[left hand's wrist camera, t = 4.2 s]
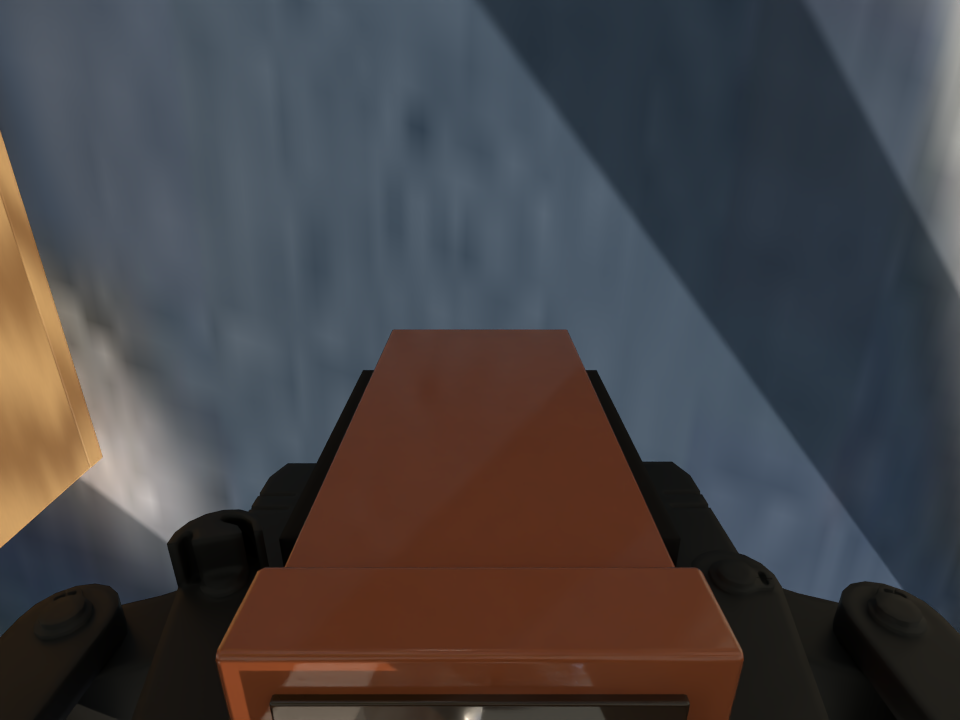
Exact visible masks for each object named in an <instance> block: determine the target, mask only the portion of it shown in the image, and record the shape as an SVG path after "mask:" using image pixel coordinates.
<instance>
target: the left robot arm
mask: <svg viewBox="0 0 960 720" xmlns="http://www.w3.org/2000/svg"><path fill="white" fill-rule="evenodd" d="M373 372H374V370H363V372H362V374H361V376H360V378H359V380H358V382H357V384H356V386H355V388H354V390H353V392H352V394H351V396H350V397H349V399H348V401H347V403H346V405H345V407H344V409H343V411H342V413H341V415H340V417H339V419H338V421H337V423H336V425H335V427H334V429H333V431H332V433H331V435H330V437H329V439H328V441H327V443H326V445H325V447H324V449H323V451H322V453H321V455H320V457H319V459H318V461H317V463H288V464H286V465H285V466H284V467H282V468H281V469H280V470H279V471H277V472H276V473H275V474H273V475H272V476H271V477H270V478H269V479H268V481H267V482H266V484H265V486H264V487H263V489H262V491H261V492H260V496H258V497H257V499H256V500H255V502H254V503H253V505H252V509H251V510H249V512H247V511H244V510H221V511H217V512H213V513H209V514H205V515H203V516H201V517H199V518H196V519H194V520H192V521H190V522H188V523H187V524H185V525H184V526H183V527H181V528H180V529H179V530H177V531H176V532H175V533H174V535H173V536H172V537H171V539H170V540H169V542H168V543H167V546H168V550H169V554H170V558H171V562H172V565H173V569H174V573H175V577H176V580H177V584H178V590H177V591H174V592H171V593H168V594H165V595H162V596H157V597H153V598H149V599H145V600H140V601H136V602H132V603H128V604H123V605H121V602H120V599H119V596H118V593H117V592H116V591H114V590H113V589H112V588H111V587H110V586H106V585H100V584H89V585H81V586H75V587H72V588H69V589H67V590H64V591H61V592H58V593H55V594H53V595H52V596H50V597H48V598H46V599H44V600H43V601H41V602H39V603H37V604H35V605H34V606H33V607H32V608H31V609H29V610H28V611H27V612H26V613H25V614H23V615H22V616H21V617H20V618H19V619H18V620H17V621H16V622H15V623H14V624H13V625H12V626H11V627H10V628H9V629H8V630H7V631H6V632H5V633H4V634H3V635H2V636H1V637H0V720H230V718H229V714H228V710H227V706H226V702H225V698H224V694H223V690H222V685H221V681H220V677H219V673H218V669H217V665H216V661H215V660H216V652H217V649H218V647H219V645H220V644H221V642H222V640H223V638H224V636H225V634H226V632H227V630H228V628H229V626H230V624H231V622H232V620H233V618H234V616H235V614H236V612H237V610H238V608H239V606H240V605H241V603H242V601H243V599H244V597H245V595H246V593H247V591H248V589H249V587H250V585H251V583H252V581H253V579H254V577H255V575H256V573H257V571H259V570H260V569H261V568H265V567H285V565H286V563H287V561H288V558H289V556H290V554H291V552H292V550H293V547H294V545H295V543H296V541H297V539H298V536H299V534H300V532H301V530H302V528H303V525H304V523H305V521H306V519H307V517H308V514H309V512H310V510H311V508H312V506H313V503H314V501H315V499H316V497H317V495H318V492H319V490H320V488H321V486H322V484H323V481H324V479H325V477H326V475H327V473H328V470H329V468H330V466H331V464H332V462H333V459H334V457H335V455H336V453H337V451H338V448H339V446H340V444H341V442H342V440H343V437H344V435H345V433H346V431H347V429H348V426H349V424H350V422H351V420H352V418H353V416H354V413H355V411H356V409H357V407H358V405H359V402H360V400H361V398H362V396H363V394H364V391H365V389H366V387H367V385H368V383H369V380H370V378H371V376H372V374H373ZM586 372H587V375H588V377H589V379H590V381H591V383H592V386H593V388H594V390H595V392H596V394H597V397H598V399H599V401H600V403H601V405H602V408H603V410H604V412H605V414H606V416H607V419H608V421H609V423H610V425H611V427H612V430H613V432H614V434H615V436H616V438H617V441H618V443H619V445H620V447H621V449H622V452H623V454H624V456H625V458H626V460H627V463H628V465H629V467H630V469H631V471H632V474H633V476H634V478H635V480H636V482H637V485H638V487H639V489H640V491H641V493H642V496H643V498H644V500H645V502H646V504H647V507H648V509H649V511H650V513H651V515H652V518H653V520H654V522H655V524H656V527H657V529H658V531H659V533H660V535H661V538H662V540H663V542H664V544H665V546H666V549H667V551H668V553H669V555H670V557H671V560H672V562H673V564H674V566H675V567H695V568H698V569H700V570H701V571H702V573H703V574H704V576H705V578H706V580H707V582H708V584H709V586H710V588H711V590H712V592H713V594H714V596H715V598H716V600H717V602H718V604H719V606H720V608H721V610H722V612H723V614H724V616H725V617H726V619H727V621H728V623H729V625H730V627H731V629H732V631H733V633H734V635H735V637H736V639H737V641H738V643H739V645H740V647H741V649H742V651H743V654H744V662H743V666H742V671H741V675H740V679H739V683H738V687H737V691H736V695H735V699H734V703H733V707H732V711H731V715H730V719H729V720H960V634H959V633H958V632H957V631H956V630H955V629H954V628H953V627H952V626H951V625H950V624H949V623H948V622H947V621H946V620H945V619H944V618H943V617H942V616H941V615H940V614H939V613H938V612H936V611H935V610H934V609H933V608H932V607H930V606H929V605H928V604H927V603H925V602H924V601H922V600H920V599H919V598H917V597H915V596H913V595H911V594H909V593H908V592H906V591H904V590H901V589H898V588H895V587H892V586H889V585H886V584H882V583H874V582H866V581H864V582H859V583H853V584H850V585H849V586H848V587H847V588H846V589H844V590H843V591H842V594H841V598H840V601H839V603H838V602H833V601H829V600H825V599H820V598H816V597H812V596H808V595H803V594H799V593H796V592H793V591H789V590H786V589H783V588H782V586H781V585H780V583H779V582H778V580H777V578H776V577H775V575H774V574H773V573H772V572H771V571H769V570H768V569H767V568H766V567H765V566H763V565H762V564H761V563H759V562H757V561H755V560H753V559H751V558H749V557H747V556H746V555H742V554H739V553H738V552H737V550H736V548H735V547H734V545H733V544H732V542H731V540H730V539H729V537H728V536H727V534H726V532H725V531H724V529H723V527H722V526H721V524H720V523H719V521H718V519H717V518H716V516H715V515H714V513H713V511H712V510H711V508H708V503H707V502H706V500H705V499H704V497H703V495H702V494H700V490H699V489H698V487H697V486H696V484H695V482H694V481H693V479H692V478H691V476H690V475H689V474H688V473H686V472H685V471H684V470H682V469H681V468H680V467H678V466H677V465H676V464H674V463H673V462H642V460H641V458H640V456H639V454H638V452H637V450H636V448H635V446H634V444H633V442H632V440H631V438H630V436H629V434H628V432H627V430H626V428H625V426H624V424H623V422H622V420H621V418H620V416H619V414H618V412H617V410H616V408H615V406H614V404H613V402H612V400H611V398H610V396H609V394H608V392H607V390H606V388H605V386H604V384H603V382H602V380H601V378H600V376H599V374H598V372H597V370H586Z"/></svg>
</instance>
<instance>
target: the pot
mask: <svg viewBox="0 0 960 720" xmlns="http://www.w3.org/2000/svg"><path fill="white" fill-rule="evenodd" d="M215 661H216V665H217V669H218V673H219V677H220V681H221V685H222V690H223V694H224V698H225V702H226V706H227V710H228V714H229V718H230V720H729V719H730V715H731V711H732V707H733V703H734V699H735V695H736V691H737V687H738V683H739V679H740V675H741V671H742V666H743V662H744V654H743V651H742V649H741V647H740V645H739V643H738V641H737V639H736V637H735V635H734V633H733V631H732V629H731V627H730V625H729V623H728V621H727V619H726V617H725V616H724V614H723V612H722V610H721V608H720V606H719V604H718V602H717V600H716V598H715V596H714V594H713V592H712V590H711V588H710V586H709V584H708V582H707V580H706V578H705V576H704V574H703V573H702V571H701V570H700V569H698V568H695V567H675V566H674V564H673V562H672V560H671V557H670V555H669V553H668V551H667V549H666V546H665V544H664V542H663V540H662V538H661V535H660V533H659V531H658V529H657V527H656V524H655V522H654V520H653V518H652V515H651V513H650V511H649V509H648V507H647V504H646V502H645V500H644V498H643V496H642V493H641V491H640V489H639V487H638V485H637V482H636V480H635V478H634V476H633V474H632V471H631V469H630V467H629V465H628V463H627V460H626V458H625V456H624V454H623V452H622V449H621V447H620V445H619V443H618V441H617V438H616V436H615V434H614V432H613V430H612V427H611V425H610V423H609V421H608V419H607V416H606V414H605V412H604V410H603V408H602V405H601V403H600V401H599V399H598V397H597V394H596V392H595V390H594V388H593V386H592V383H591V381H590V379H589V377H588V375H587V372H586V370H585V368H584V366H583V364H582V361H581V359H580V357H579V355H578V352H577V350H576V348H575V346H574V344H573V341H572V339H571V337H570V335H569V333H568V330H392V332H391V334H390V336H389V339H388V341H387V343H386V345H385V347H384V350H383V352H382V354H381V356H380V358H379V361H378V363H377V365H376V367H375V369H374V372H373V374H372V376H371V378H370V380H369V383H368V385H367V387H366V389H365V391H364V394H363V396H362V398H361V400H360V402H359V405H358V407H357V409H356V411H355V413H354V416H353V418H352V420H351V422H350V424H349V426H348V429H347V431H346V433H345V435H344V437H343V440H342V442H341V444H340V446H339V448H338V451H337V453H336V455H335V457H334V459H333V462H332V464H331V466H330V468H329V470H328V473H327V475H326V477H325V479H324V481H323V484H322V486H321V488H320V490H319V492H318V495H317V497H316V499H315V501H314V503H313V506H312V508H311V510H310V512H309V514H308V517H307V519H306V521H305V523H304V525H303V528H302V530H301V532H300V534H299V536H298V539H297V541H296V543H295V545H294V547H293V550H292V552H291V554H290V556H289V558H288V561H287V563H286V565H285V567H265V568H261V569H260V570H259V571H257V573H256V575H255V577H254V579H253V581H252V583H251V585H250V587H249V589H248V591H247V593H246V595H245V597H244V599H243V601H242V603H241V605H240V606H239V608H238V610H237V612H236V614H235V616H234V618H233V620H232V622H231V624H230V626H229V628H228V630H227V632H226V634H225V636H224V638H223V640H222V642H221V644H220V645H219V647H218V649H217V652H216V660H215Z"/></svg>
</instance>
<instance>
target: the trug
mask: <svg viewBox="0 0 960 720" xmlns="http://www.w3.org/2000/svg"><path fill="white" fill-rule="evenodd" d="M102 457H103V456H102V453H101V450H100V447H99V443H98V440H97V437H96V434H95V431H94V428H93V424H92V421H91V418H90V415H89V412H88V408H87V405H86V402H85V399H84V396H83V392H82V389H81V386H80V383H79V380H78V377H77V373H76V370H75V367H74V364H73V361H72V357H71V354H70V351H69V348H68V345H67V342H66V338H65V335H64V332H63V329H62V326H61V322H60V319H59V316H58V313H57V310H56V307H55V303H54V300H53V297H52V294H51V291H50V287H49V284H48V281H47V278H46V275H45V272H44V268H43V265H42V262H41V259H40V256H39V252H38V249H37V246H36V243H35V240H34V236H33V233H32V230H31V227H30V224H29V221H28V217H27V214H26V211H25V208H24V205H23V201H22V198H21V195H20V192H19V189H18V186H17V182H16V179H15V176H14V173H13V170H12V166H11V163H10V160H9V157H8V154H7V151H6V147H5V144H4V141H3V138H2V135H1V131H0V548H1V547H2V546H3V545H4V544H5V543H6V542H8V541H9V540H10V539H11V538H12V537H13V536H14V535H15V534H17V533H18V532H19V531H20V530H21V529H22V528H23V527H24V526H26V525H27V524H28V523H29V522H30V521H31V520H32V519H33V518H35V517H36V516H37V515H38V514H39V513H40V512H41V511H42V510H44V509H45V508H46V507H47V506H48V505H49V504H50V503H51V502H53V501H54V500H55V499H56V498H57V497H58V496H59V495H60V494H62V493H63V492H64V491H65V490H66V489H67V488H68V487H69V486H71V485H72V484H73V483H74V482H75V481H76V480H77V479H78V478H80V477H81V476H82V475H83V474H84V473H85V472H86V471H87V470H89V468H91V467H92V466H93V465H95V464H96V463H97V462H98V461H99V460H100V459H101V458H102Z"/></svg>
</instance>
